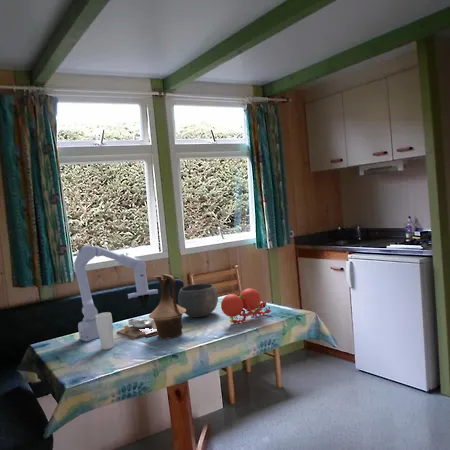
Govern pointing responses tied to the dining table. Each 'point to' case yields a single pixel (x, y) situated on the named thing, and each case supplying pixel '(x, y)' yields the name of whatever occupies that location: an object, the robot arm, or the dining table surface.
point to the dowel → (126, 329)
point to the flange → (140, 323)
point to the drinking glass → (105, 330)
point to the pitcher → (167, 310)
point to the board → (135, 331)
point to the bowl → (198, 299)
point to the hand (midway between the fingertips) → (145, 310)
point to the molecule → (243, 305)
